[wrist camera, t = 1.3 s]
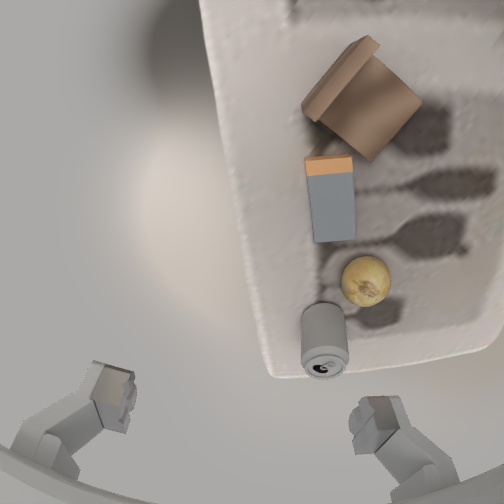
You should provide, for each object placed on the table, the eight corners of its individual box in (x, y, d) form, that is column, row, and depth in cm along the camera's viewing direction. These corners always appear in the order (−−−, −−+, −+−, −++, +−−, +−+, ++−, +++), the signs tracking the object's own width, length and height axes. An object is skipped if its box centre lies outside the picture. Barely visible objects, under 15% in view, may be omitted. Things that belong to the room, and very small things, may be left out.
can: (293, 316, 54) (290, 370, 44) (323, 292, 50) (326, 347, 40) (322, 335, 56) (323, 388, 46) (352, 313, 52) (359, 367, 42)
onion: (396, 265, 46) (407, 294, 40) (364, 297, 50) (370, 326, 44) (361, 240, 44) (370, 267, 38) (328, 275, 48) (332, 304, 42)
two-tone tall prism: (353, 232, 44) (355, 239, 42) (313, 236, 45) (314, 243, 43) (349, 153, 38) (351, 157, 36) (304, 157, 39) (305, 161, 37)
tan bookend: (411, 98, 32) (444, 108, 24) (364, 154, 37) (383, 179, 29) (349, 44, 30) (367, 34, 21) (300, 103, 35) (302, 112, 27)
